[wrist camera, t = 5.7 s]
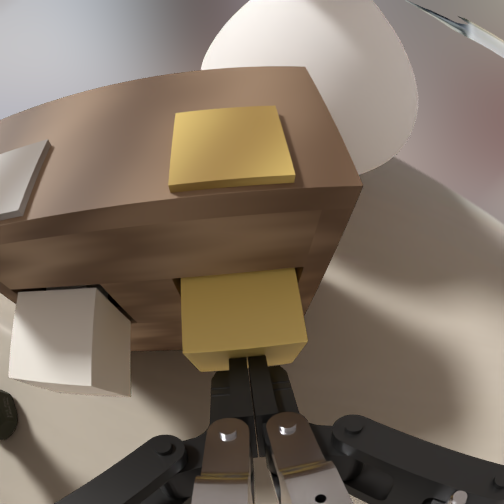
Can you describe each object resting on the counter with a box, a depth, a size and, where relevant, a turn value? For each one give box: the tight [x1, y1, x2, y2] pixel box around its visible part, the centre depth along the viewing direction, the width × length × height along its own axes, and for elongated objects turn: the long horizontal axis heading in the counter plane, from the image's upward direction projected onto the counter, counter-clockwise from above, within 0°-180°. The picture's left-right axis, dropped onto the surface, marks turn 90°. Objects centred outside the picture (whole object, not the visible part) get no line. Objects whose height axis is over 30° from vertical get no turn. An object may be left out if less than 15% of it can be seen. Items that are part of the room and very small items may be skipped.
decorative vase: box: [201, 0, 418, 177], centre depth 20 cm, size 18×18×25 cm
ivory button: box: [8, 284, 131, 397], centre depth 13 cm, size 4×6×4 cm
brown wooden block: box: [0, 66, 363, 351], centre depth 16 cm, size 15×7×16 cm, turn 96°
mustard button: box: [181, 268, 308, 372], centre depth 14 cm, size 4×6×4 cm
